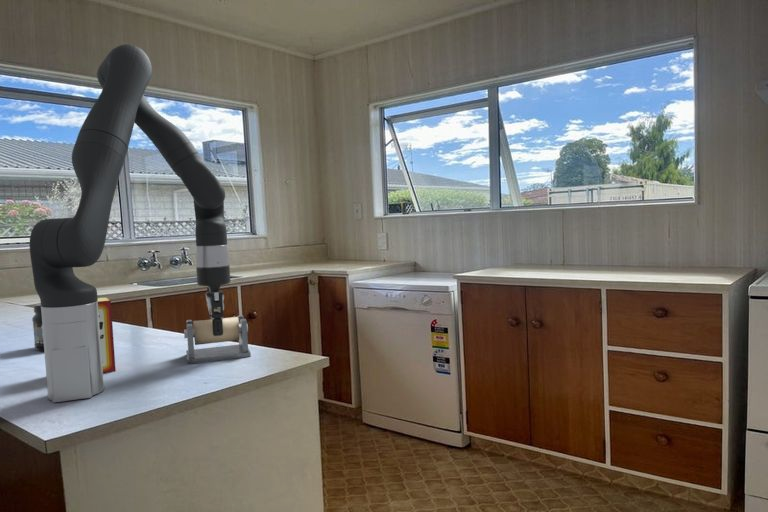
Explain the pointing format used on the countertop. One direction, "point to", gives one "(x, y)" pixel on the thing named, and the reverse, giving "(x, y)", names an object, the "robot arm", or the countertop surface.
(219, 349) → the roll holder
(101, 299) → the baking soda box
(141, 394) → the countertop surface
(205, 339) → the paper roll
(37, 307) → the supplement container
